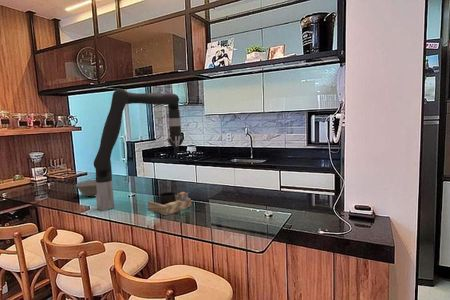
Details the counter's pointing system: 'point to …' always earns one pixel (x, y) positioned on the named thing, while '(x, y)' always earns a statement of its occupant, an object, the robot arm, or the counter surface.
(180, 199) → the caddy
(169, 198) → the mug
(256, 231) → the counter surface
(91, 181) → the ceramic bowl
